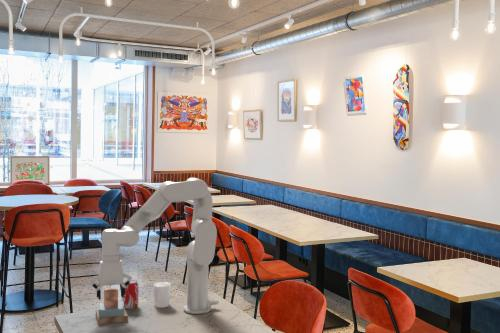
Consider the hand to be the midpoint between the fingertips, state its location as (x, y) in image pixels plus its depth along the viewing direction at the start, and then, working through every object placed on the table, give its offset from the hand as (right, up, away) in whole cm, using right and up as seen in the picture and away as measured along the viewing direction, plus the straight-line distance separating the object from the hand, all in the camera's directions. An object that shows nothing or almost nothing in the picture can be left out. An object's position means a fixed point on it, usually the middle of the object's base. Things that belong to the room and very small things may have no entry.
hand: (111, 297), depth 223 cm
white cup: (+19, -9, +19) cm, 28 cm away
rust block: (0, -4, 0) cm, 4 cm away
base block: (0, -10, +1) cm, 10 cm away
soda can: (+5, -8, +15) cm, 18 cm away
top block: (0, -7, 0) cm, 7 cm away
